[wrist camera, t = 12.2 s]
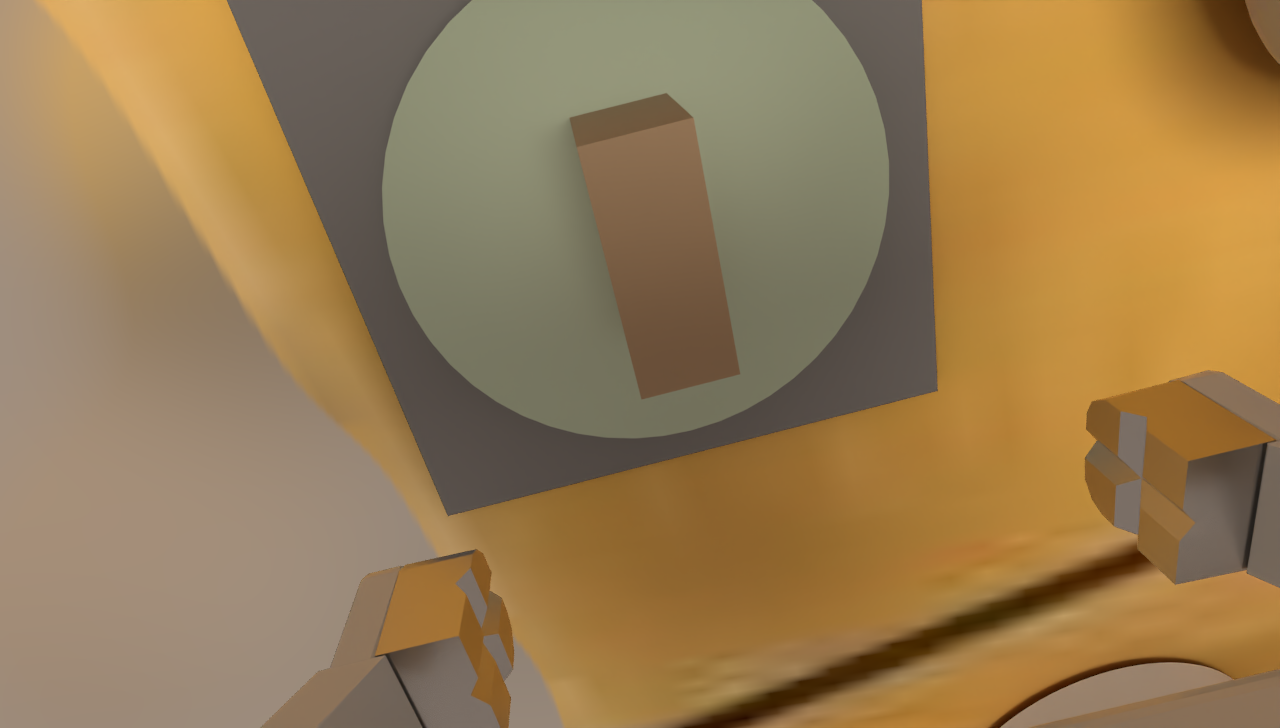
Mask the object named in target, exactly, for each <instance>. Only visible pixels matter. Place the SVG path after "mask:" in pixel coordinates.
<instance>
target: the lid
mask: <svg viewBox="0 0 1280 728" xmlns="http://www.w3.org/2000/svg"><path fill="white" fill-rule="evenodd" d="M888 198H889V158H888V150H887V143H886V135H885V128H884V125H883V121H882V117H881V114H880V110H879V107H878V103H877V99H876V96H875V94H874V91H873V89H872V87H871V84H870V82H869V80H868V77H867V75H866V73H865V70H864V68H863V66H862V64H861V63H860V61H859V59H858V58H857V56H856V54H855V53H854V51H853V49H852V48H851V46H850V45H849V43H848V41H847V40H846V38H845V36H844V35H843V34H842V33H841V32H840V30H839V29H838V28H837V27H836V26H835V24H834V23H833V22H832V21H831V19H830V18H829V17H828V16H827V15H826V13H825V12H824V11H823V10H822V9H821V8H820V7H819V6H818V5H817V4H816V3H814V2H813V1H812V0H472V1H471V2H470V3H468V4H467V5H466V6H465V7H464V8H463V9H462V10H461V11H460V12H459V13H458V14H457V15H456V16H455V17H454V18H453V19H452V20H451V21H450V22H449V23H448V24H447V25H446V27H445V28H444V29H443V31H442V32H441V33H440V34H439V36H438V37H437V38H436V39H435V41H434V42H433V43H432V45H431V46H430V47H429V48H428V50H427V51H426V53H425V54H424V56H423V58H422V59H421V61H420V63H419V65H418V66H417V68H416V70H415V72H414V73H413V75H412V77H411V79H410V80H409V82H408V84H407V86H406V89H405V91H404V94H403V96H402V99H401V101H400V104H399V106H398V109H397V111H396V114H395V116H394V120H393V124H392V128H391V132H390V136H389V140H388V144H387V148H386V152H385V162H384V172H383V182H382V202H383V223H384V229H385V234H386V240H387V246H388V251H389V256H390V259H391V262H392V265H393V268H394V271H395V275H396V278H397V281H398V284H399V287H400V289H401V291H402V293H403V295H404V297H405V299H406V301H407V303H408V305H409V308H410V310H411V312H412V314H413V316H414V317H415V319H416V320H417V322H418V323H419V325H420V326H421V328H422V329H423V331H424V333H425V334H426V336H427V337H428V339H429V340H430V342H431V343H432V344H433V345H434V346H435V347H436V349H437V350H438V351H439V352H440V353H441V355H442V356H443V357H444V358H445V359H446V360H447V362H448V363H449V364H450V365H451V366H452V367H453V368H454V369H456V370H457V371H458V372H459V373H460V374H461V375H462V376H463V377H464V378H465V379H467V380H468V381H469V382H470V383H471V384H472V385H473V386H475V387H476V388H478V389H479V390H480V391H482V392H483V393H485V394H486V395H488V396H489V397H490V398H492V399H493V400H495V401H496V402H498V403H500V404H501V405H503V406H505V407H507V408H509V409H511V410H513V411H515V412H516V413H518V414H520V415H522V416H524V417H527V418H529V419H532V420H535V421H537V422H540V423H542V424H545V425H547V426H550V427H554V428H558V429H562V430H566V431H569V432H573V433H577V434H584V435H591V436H598V437H605V438H646V437H657V436H666V435H671V434H676V433H681V432H686V431H691V430H694V429H697V428H701V427H704V426H707V425H710V424H713V423H716V422H719V421H722V420H724V419H726V418H728V417H731V416H733V415H735V414H737V413H740V412H742V411H744V410H746V409H748V408H750V407H751V406H753V405H755V404H757V403H758V402H760V401H762V400H764V399H765V398H767V397H769V396H770V395H772V394H773V393H775V392H776V391H777V390H779V389H780V388H781V387H783V386H784V385H785V384H787V383H788V382H789V381H791V380H792V379H794V378H795V377H796V376H797V375H798V374H799V373H800V372H801V371H802V370H803V369H804V368H806V367H807V366H808V365H809V364H810V363H811V362H812V361H813V360H814V359H815V358H816V357H817V356H818V355H819V354H820V353H821V351H822V350H823V349H824V348H825V347H826V346H827V345H828V343H829V342H830V341H831V340H832V339H833V338H834V336H835V335H836V334H837V332H838V331H839V329H840V328H841V326H842V325H843V324H844V322H845V321H846V319H847V318H848V316H849V315H850V313H851V312H852V310H853V308H854V306H855V305H856V303H857V301H858V299H859V297H860V295H861V293H862V291H863V289H864V288H865V286H866V284H867V281H868V278H869V276H870V273H871V271H872V268H873V266H874V263H875V260H876V258H877V255H878V251H879V247H880V243H881V239H882V235H883V231H884V228H885V222H886V214H887V206H888Z"/></svg>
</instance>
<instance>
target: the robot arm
mask: <svg viewBox="0 0 1280 728" xmlns="http://www.w3.org/2000/svg"><path fill="white" fill-rule="evenodd" d="M1086 430H1087V431H1088V432H1089V433H1090V434H1091V435H1092V436H1093V437H1094V438H1095V439H1096V440H1097V441H1096V443H1095V444H1094V446H1093V447H1092V449H1091V450H1090V451H1089V453H1088V454H1087V456H1086V457H1085V480H1086V483H1087V486H1088V489H1089V492H1090V495H1091V498H1092V500H1093V502H1094V503H1095V505H1096V506H1097V508H1098V509H1099V511H1100V512H1101V514H1102V515H1103V516H1104V517H1105V518H1106V519H1107V520H1108V521H1109V522H1110V523H1111V524H1112V525H1113V526H1115V527H1118V528H1121V529H1123V530H1126V531H1129V532H1132V533H1135V534H1138V550H1139V551H1140V552H1141V553H1142V554H1143V555H1145V556H1146V557H1147V558H1148V559H1149V560H1150V561H1151V562H1152V563H1153V564H1154V565H1155V566H1156V567H1157V568H1158V569H1159V570H1160V571H1161V572H1162V573H1163V574H1165V575H1166V576H1167V577H1168V578H1169V579H1170V580H1171V581H1172V582H1173V583H1174V584H1175V585H1176V584H1181V583H1186V582H1190V581H1195V580H1200V579H1205V578H1210V577H1214V576H1219V575H1224V574H1229V573H1234V572H1238V571H1243V570H1247V574H1250V575H1252V576H1254V577H1257V578H1259V579H1261V580H1263V581H1266V582H1268V583H1270V584H1272V585H1275V586H1277V587H1279V588H1280V405H1279V404H1278V403H1276V402H1274V401H1272V400H1271V399H1269V398H1267V397H1265V396H1263V395H1262V394H1260V393H1258V392H1256V391H1255V390H1253V389H1251V388H1249V387H1247V386H1246V385H1244V384H1242V383H1240V382H1239V381H1237V380H1235V379H1233V378H1232V377H1230V376H1228V375H1226V374H1224V373H1223V372H1217V371H1210V370H1207V371H1204V372H1200V373H1196V374H1193V375H1189V376H1185V377H1182V378H1178V379H1174V380H1171V381H1169V382H1168V383H1164V384H1160V385H1156V386H1152V387H1148V388H1144V389H1140V390H1136V391H1132V392H1128V393H1124V394H1120V395H1116V396H1112V397H1108V398H1104V399H1100V400H1096V401H1092V402H1091V405H1090V407H1089V409H1088V411H1087V419H1086ZM490 581H491V570H490V568H489V566H488V564H487V561H486V559H485V557H484V555H483V553H482V552H480V551H479V550H477V549H476V550H471V551H467V552H462V553H457V554H453V555H448V556H444V557H439V558H435V559H430V560H425V561H421V562H416V563H412V564H407V565H405V566H399V567H395V568H391V569H386V570H382V571H378V572H374V573H370V574H368V575H367V576H365V577H364V578H363V579H362V580H361V582H360V585H359V588H358V591H357V593H356V597H355V599H354V602H353V605H352V608H351V610H350V613H349V616H348V619H347V622H346V624H345V628H344V630H343V633H342V636H341V639H340V641H339V644H338V647H337V650H336V653H335V655H334V658H333V661H332V664H331V667H330V668H329V669H325V670H321V671H318V672H317V673H316V674H315V675H314V676H313V677H312V678H311V679H310V680H309V681H308V682H307V683H306V684H305V685H304V686H303V687H302V688H301V689H300V690H299V691H298V692H296V693H295V695H294V696H292V697H291V698H290V699H289V700H288V701H287V702H286V703H285V704H284V705H283V706H282V707H281V708H280V709H279V710H278V711H277V712H276V713H275V714H274V715H273V716H272V717H271V718H270V719H269V720H268V721H267V722H266V723H265V724H264V725H263V726H262V727H261V728H508V726H509V714H510V703H511V702H510V701H511V697H510V695H509V692H508V690H507V687H506V685H505V683H504V680H505V679H506V678H507V677H508V675H509V674H510V673H511V672H512V670H513V662H514V647H513V636H512V628H511V624H510V620H509V617H508V613H507V610H506V607H505V605H504V602H503V600H502V598H501V597H499V596H498V595H496V594H494V593H493V592H491V591H489V590H490ZM1000 728H1280V669H1278V670H1273V671H1269V672H1265V673H1260V674H1256V675H1252V676H1247V677H1243V678H1239V679H1235V680H1233V679H1232V678H1231V677H1229V676H1227V675H1226V674H1224V673H1222V672H1220V671H1217V670H1215V669H1212V668H1209V667H1205V666H1201V665H1195V664H1189V663H1173V662H1168V663H1150V664H1142V665H1135V666H1130V667H1125V668H1120V669H1116V670H1112V671H1109V672H1105V673H1102V674H1098V675H1095V676H1092V677H1089V678H1087V679H1084V680H1081V681H1079V682H1076V683H1074V684H1071V685H1069V686H1067V687H1065V688H1062V689H1060V690H1058V691H1056V692H1054V693H1052V694H1050V695H1048V696H1046V697H1045V698H1043V699H1041V700H1039V701H1038V702H1036V703H1034V704H1032V705H1031V706H1029V707H1028V708H1026V709H1025V710H1023V711H1022V712H1020V713H1019V714H1017V715H1016V716H1014V717H1013V718H1012V719H1010V720H1009V721H1008V722H1006V723H1005V724H1004V725H1003V726H1001V727H1000Z"/></svg>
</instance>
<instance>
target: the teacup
mask: <svg viewBox="0 0 1280 728" xmlns="http://www.w3.org/2000/svg"><path fill="white" fill-rule="evenodd" d="M1245 3H1246V6H1247V9H1248V12H1249V15H1250V18H1251V21H1252V23H1253V25H1254V27H1255V29H1256V31H1257V33H1258V35H1259V37H1260V39H1261V41H1262V42H1263V44H1264V45H1265V47H1266V48H1267V50H1268V52H1269V53H1270V54H1271V55H1272V56H1273V58H1274V59H1275V60H1276V61H1277V63H1279V64H1280V0H1245Z"/></svg>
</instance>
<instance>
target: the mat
mask: <svg viewBox="0 0 1280 728" xmlns="http://www.w3.org/2000/svg"><path fill="white" fill-rule="evenodd" d="M471 1H472V0H227V2H228V4H229V6H230V9H231V11H232V13H233V16H234V18H235V20H236V23H237V25H238V27H239V30H240V32H241V34H242V37H243V39H244V41H245V44H246V46H247V48H248V51H249V53H250V55H251V58H252V60H253V62H254V65H255V67H256V69H257V72H258V74H259V76H260V79H261V81H262V83H263V86H264V88H265V90H266V93H267V95H268V97H269V100H270V102H271V104H272V107H273V109H274V111H275V114H276V116H277V118H278V121H279V123H280V125H281V128H282V130H283V132H284V135H285V137H286V139H287V142H288V144H289V146H290V149H291V151H292V153H293V156H294V158H295V160H296V163H297V165H298V167H299V170H300V172H301V174H302V177H303V179H304V181H305V184H306V186H307V188H308V191H309V193H310V195H311V198H312V200H313V202H314V205H315V207H316V209H317V212H318V214H319V216H320V219H321V221H322V223H323V226H324V228H325V230H326V233H327V235H328V237H329V240H330V242H331V244H332V247H333V249H334V251H335V254H336V256H337V258H338V261H339V263H340V265H341V268H342V270H343V272H344V275H345V277H346V279H347V282H348V284H349V286H350V289H351V291H352V293H353V296H354V298H355V300H356V303H357V305H358V307H359V310H360V312H361V314H362V317H363V319H364V321H365V324H366V326H367V328H368V331H369V333H370V335H371V338H372V340H373V342H374V345H375V347H376V349H377V352H378V354H379V356H380V359H381V361H382V363H383V366H384V368H385V370H386V373H387V375H388V377H389V380H390V382H391V384H392V387H393V389H394V391H395V394H396V396H397V398H398V401H399V403H400V405H401V408H402V410H403V412H404V415H405V417H406V419H407V422H408V424H409V426H410V429H411V431H412V433H413V436H414V438H415V440H416V443H417V445H418V447H419V450H420V452H421V454H422V457H423V459H424V461H425V464H426V466H427V468H428V471H429V473H430V475H431V478H432V480H433V482H434V485H435V487H436V489H437V492H438V494H439V496H440V499H441V501H442V503H443V506H444V508H445V510H446V513H447V515H448V516H450V515H454V514H458V513H462V512H465V511H469V510H473V509H477V508H481V507H485V506H489V505H493V504H497V503H501V502H505V501H508V500H512V499H516V498H520V497H524V496H528V495H532V494H536V493H540V492H544V491H548V490H551V489H555V488H559V487H563V486H567V485H571V484H575V483H579V482H583V481H587V480H591V479H594V478H598V477H602V476H606V475H610V474H614V473H618V472H622V471H626V470H630V469H634V468H637V467H641V466H645V465H649V464H653V463H657V462H661V461H665V460H669V459H673V458H677V457H680V456H684V455H688V454H692V453H696V452H700V451H704V450H708V449H712V448H716V447H720V446H724V445H727V444H731V443H735V442H739V441H743V440H747V439H751V438H755V437H759V436H763V435H767V434H770V433H774V432H778V431H782V430H786V429H790V428H794V427H798V426H802V425H806V424H810V423H813V422H817V421H821V420H825V419H829V418H833V417H837V416H841V415H845V414H849V413H853V412H856V411H860V410H864V409H868V408H872V407H876V406H880V405H884V404H888V403H892V402H896V401H899V400H903V399H907V398H911V397H915V396H919V395H923V394H927V393H931V392H935V391H938V389H937V365H936V340H935V316H934V291H933V267H932V242H931V218H930V193H929V169H928V144H927V120H926V95H925V71H924V46H923V22H922V0H812V1H813V2H814V3H816V4H817V5H818V6H819V7H820V8H821V9H822V10H823V11H824V12H825V13H826V15H827V16H828V17H829V18H830V19H831V21H832V22H833V23H834V24H835V26H836V27H837V28H838V29H839V30H840V32H841V33H842V34H843V35H844V36H845V38H846V40H847V41H848V43H849V45H850V46H851V48H852V49H853V51H854V53H855V54H856V56H857V58H858V59H859V61H860V63H861V64H862V66H863V68H864V70H865V73H866V75H867V77H868V80H869V82H870V84H871V87H872V89H873V91H874V94H875V96H876V99H877V103H878V107H879V110H880V114H881V117H882V121H883V125H884V128H885V135H886V143H887V150H888V158H889V198H888V206H887V214H886V222H885V228H884V231H883V235H882V239H881V243H880V247H879V251H878V255H877V258H876V260H875V263H874V266H873V268H872V271H871V273H870V276H869V278H868V281H867V284H866V286H865V288H864V289H863V291H862V293H861V295H860V297H859V299H858V301H857V303H856V305H855V306H854V308H853V310H852V312H851V313H850V315H849V316H848V318H847V319H846V321H845V322H844V324H843V325H842V326H841V328H840V329H839V331H838V332H837V334H836V335H835V336H834V338H833V339H832V340H831V341H830V342H829V343H828V345H827V346H826V347H825V348H824V349H823V350H822V351H821V353H820V354H819V355H818V356H817V357H816V358H815V359H814V360H813V361H812V362H811V363H810V364H809V365H808V366H807V367H806V368H804V369H803V370H802V371H801V372H800V373H799V374H798V375H797V376H796V377H795V378H794V379H792V380H791V381H789V382H788V383H787V384H785V385H784V386H783V387H781V388H780V389H779V390H777V391H776V392H775V393H773V394H772V395H770V396H769V397H767V398H765V399H764V400H762V401H760V402H758V403H757V404H755V405H753V406H751V407H750V408H748V409H746V410H744V411H742V412H740V413H737V414H735V415H733V416H731V417H728V418H726V419H724V420H722V421H719V422H716V423H713V424H710V425H707V426H704V427H701V428H697V429H694V430H691V431H686V432H681V433H676V434H671V435H666V436H657V437H646V438H605V437H598V436H591V435H584V434H577V433H573V432H569V431H566V430H562V429H558V428H554V427H550V426H547V425H545V424H542V423H540V422H537V421H535V420H532V419H529V418H527V417H524V416H522V415H520V414H518V413H516V412H515V411H513V410H511V409H509V408H507V407H505V406H503V405H501V404H500V403H498V402H496V401H495V400H493V399H492V398H490V397H489V396H488V395H486V394H485V393H483V392H482V391H480V390H479V389H478V388H476V387H475V386H473V385H472V384H471V383H470V382H469V381H468V380H467V379H465V378H464V377H463V376H462V375H461V374H460V373H459V372H458V371H457V370H456V369H454V368H453V367H452V366H451V365H450V364H449V363H448V362H447V360H446V359H445V358H444V357H443V356H442V355H441V353H440V352H439V351H438V350H437V349H436V347H435V346H434V345H433V344H432V343H431V342H430V340H429V339H428V337H427V336H426V334H425V333H424V331H423V329H422V328H421V326H420V325H419V323H418V322H417V320H416V319H415V317H414V316H413V314H412V312H411V310H410V308H409V305H408V303H407V301H406V299H405V297H404V295H403V293H402V291H401V289H400V287H399V284H398V281H397V278H396V275H395V271H394V268H393V265H392V262H391V259H390V256H389V251H388V246H387V240H386V234H385V229H384V223H383V202H382V182H383V172H384V162H385V152H386V148H387V144H388V140H389V136H390V132H391V128H392V124H393V120H394V116H395V114H396V111H397V109H398V106H399V104H400V101H401V99H402V96H403V94H404V91H405V89H406V86H407V84H408V82H409V80H410V79H411V77H412V75H413V73H414V72H415V70H416V68H417V66H418V65H419V63H420V61H421V59H422V58H423V56H424V54H425V53H426V51H427V50H428V48H429V47H430V46H431V45H432V43H433V42H434V41H435V39H436V38H437V37H438V36H439V34H440V33H441V32H442V31H443V29H444V28H445V27H446V25H447V24H448V23H449V22H450V21H451V20H452V19H453V18H454V17H455V16H456V15H457V14H458V13H459V12H460V11H461V10H462V9H463V8H464V7H465V6H466V5H467V4H468V3H470V2H471Z"/></svg>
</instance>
